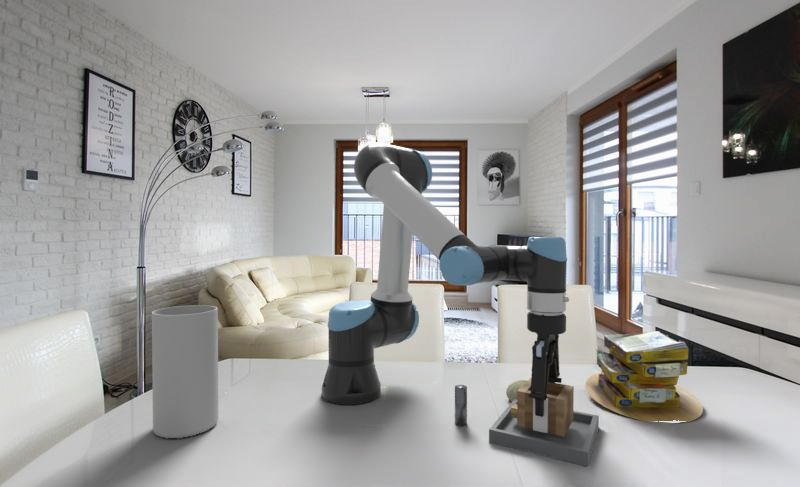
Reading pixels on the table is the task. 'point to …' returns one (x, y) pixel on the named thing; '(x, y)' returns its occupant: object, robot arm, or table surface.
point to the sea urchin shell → (514, 389)
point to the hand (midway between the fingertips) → (545, 421)
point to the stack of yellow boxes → (644, 378)
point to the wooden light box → (557, 407)
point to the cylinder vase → (184, 370)
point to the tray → (548, 437)
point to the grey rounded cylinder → (461, 405)
